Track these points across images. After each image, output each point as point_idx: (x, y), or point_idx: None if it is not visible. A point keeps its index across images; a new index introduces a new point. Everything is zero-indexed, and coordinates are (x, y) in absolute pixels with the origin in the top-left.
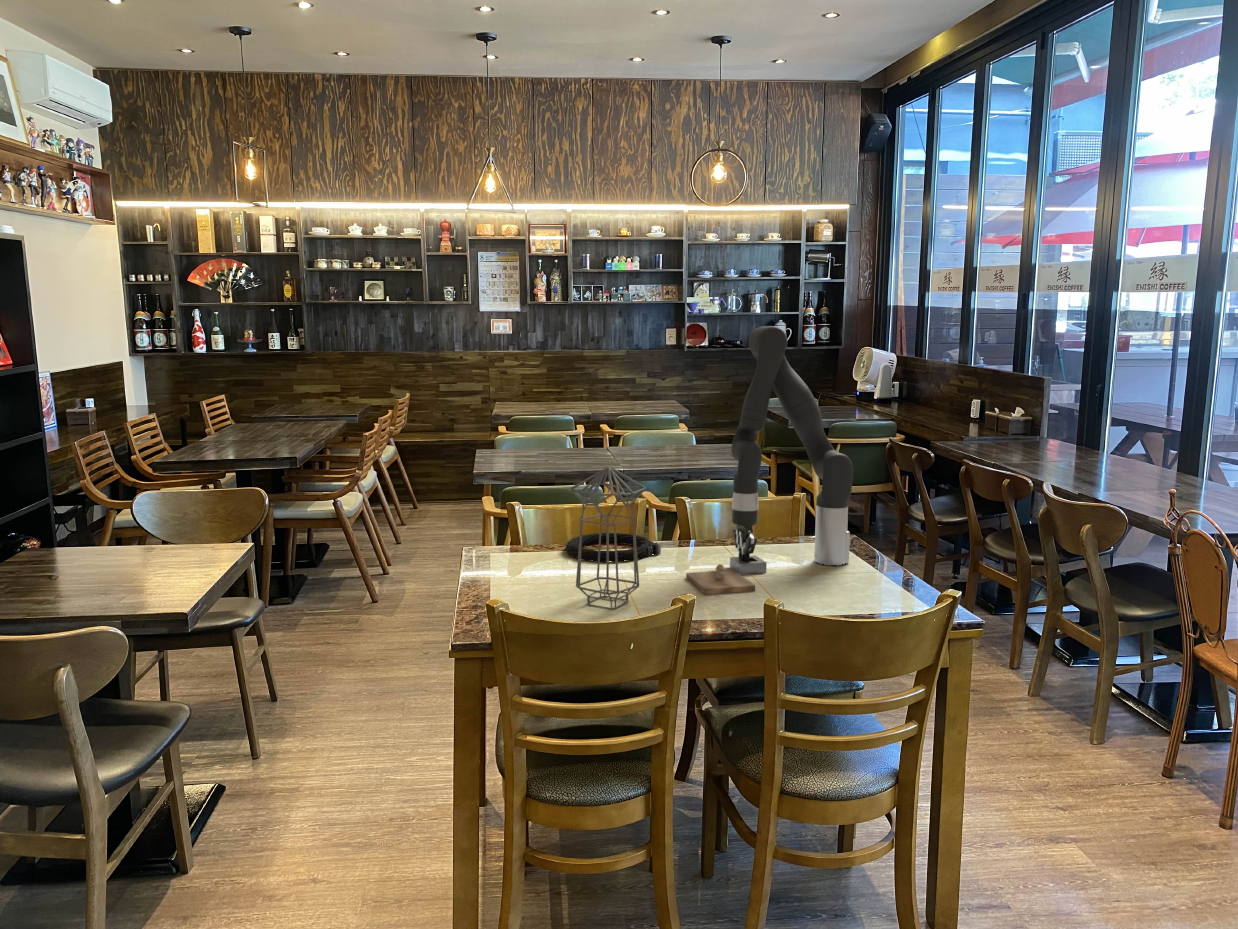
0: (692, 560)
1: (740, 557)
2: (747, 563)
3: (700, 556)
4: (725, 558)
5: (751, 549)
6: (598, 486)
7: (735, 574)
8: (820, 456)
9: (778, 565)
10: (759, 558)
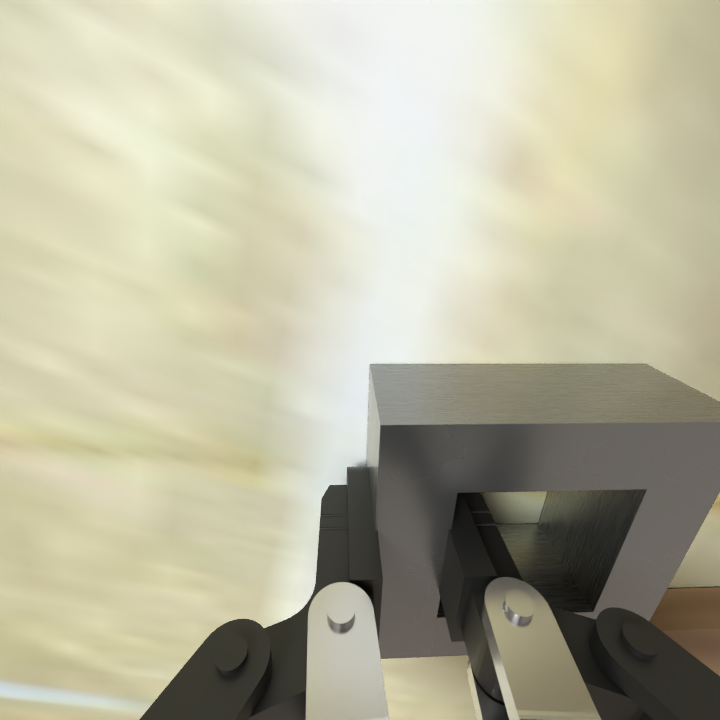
0: (132, 695)
1: (412, 594)
2: (654, 599)
3: (7, 646)
4: (64, 521)
5: (667, 701)
6: None
7: (696, 649)
8: None
9: (451, 71)
10: (543, 433)
